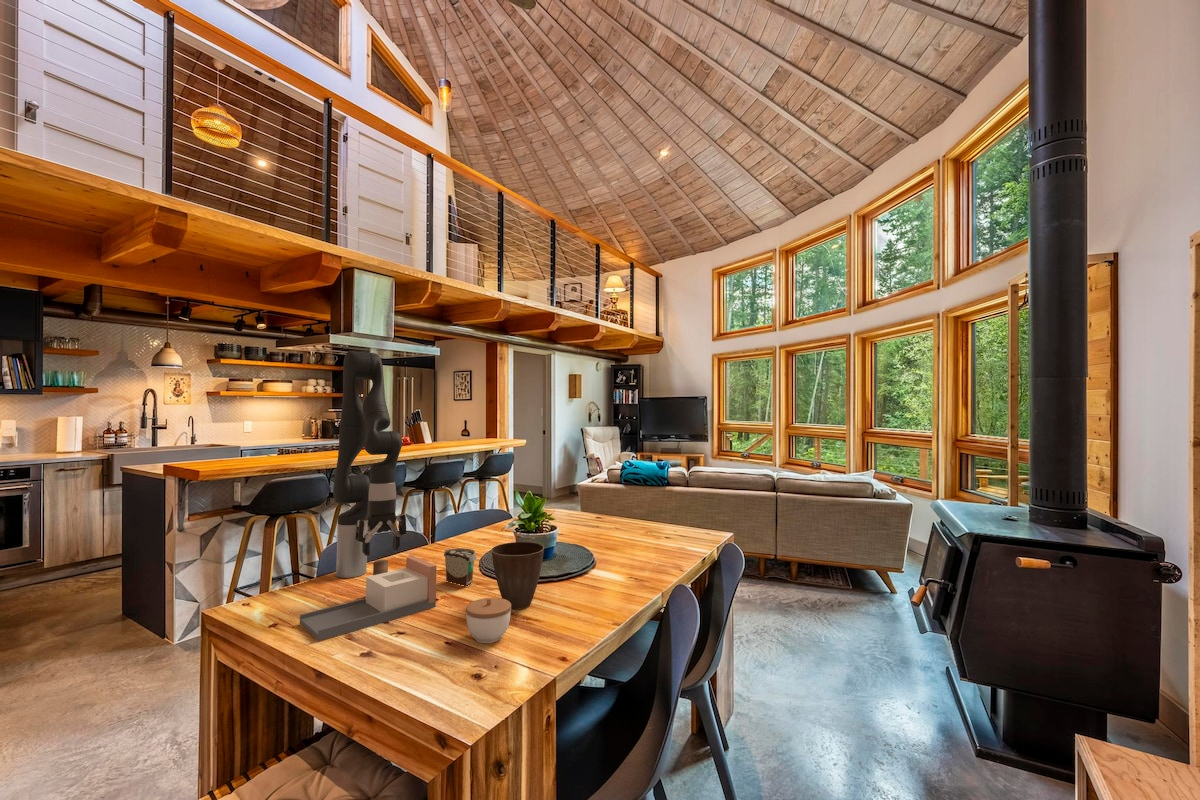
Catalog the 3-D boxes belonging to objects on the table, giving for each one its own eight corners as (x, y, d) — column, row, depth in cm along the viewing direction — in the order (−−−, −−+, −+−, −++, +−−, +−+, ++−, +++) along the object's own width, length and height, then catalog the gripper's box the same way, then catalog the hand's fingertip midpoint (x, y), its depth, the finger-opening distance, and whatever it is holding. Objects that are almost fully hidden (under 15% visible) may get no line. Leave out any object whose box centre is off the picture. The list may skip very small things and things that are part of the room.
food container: (484, 582, 160) (484, 551, 160) (469, 588, 154) (470, 555, 155) (457, 576, 166) (458, 546, 167) (443, 581, 161) (443, 550, 161)
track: (299, 624, 126) (301, 578, 127) (411, 594, 148) (412, 555, 149) (318, 641, 117) (320, 592, 117) (435, 606, 139) (436, 565, 139)
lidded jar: (463, 632, 123) (463, 594, 123) (506, 625, 127) (506, 588, 127) (468, 651, 113) (469, 609, 113) (514, 643, 117) (515, 603, 117)
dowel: (370, 595, 147) (371, 561, 148) (383, 592, 150) (384, 558, 151) (376, 599, 145) (376, 564, 145) (389, 595, 148) (390, 561, 148)
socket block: (365, 602, 138) (366, 576, 138) (407, 591, 146) (407, 567, 147) (384, 614, 129) (385, 587, 130) (427, 602, 138) (427, 576, 139)
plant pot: (496, 618, 131) (497, 557, 132) (485, 599, 145) (486, 544, 146) (550, 610, 138) (551, 551, 138) (534, 592, 151) (535, 539, 152)
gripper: (399, 494, 156) (398, 546, 156) (352, 499, 146) (351, 554, 145) (410, 496, 151) (410, 550, 150) (363, 501, 141) (361, 559, 140)
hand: (381, 552), depth 148 cm, fingers open, 8 cm apart
